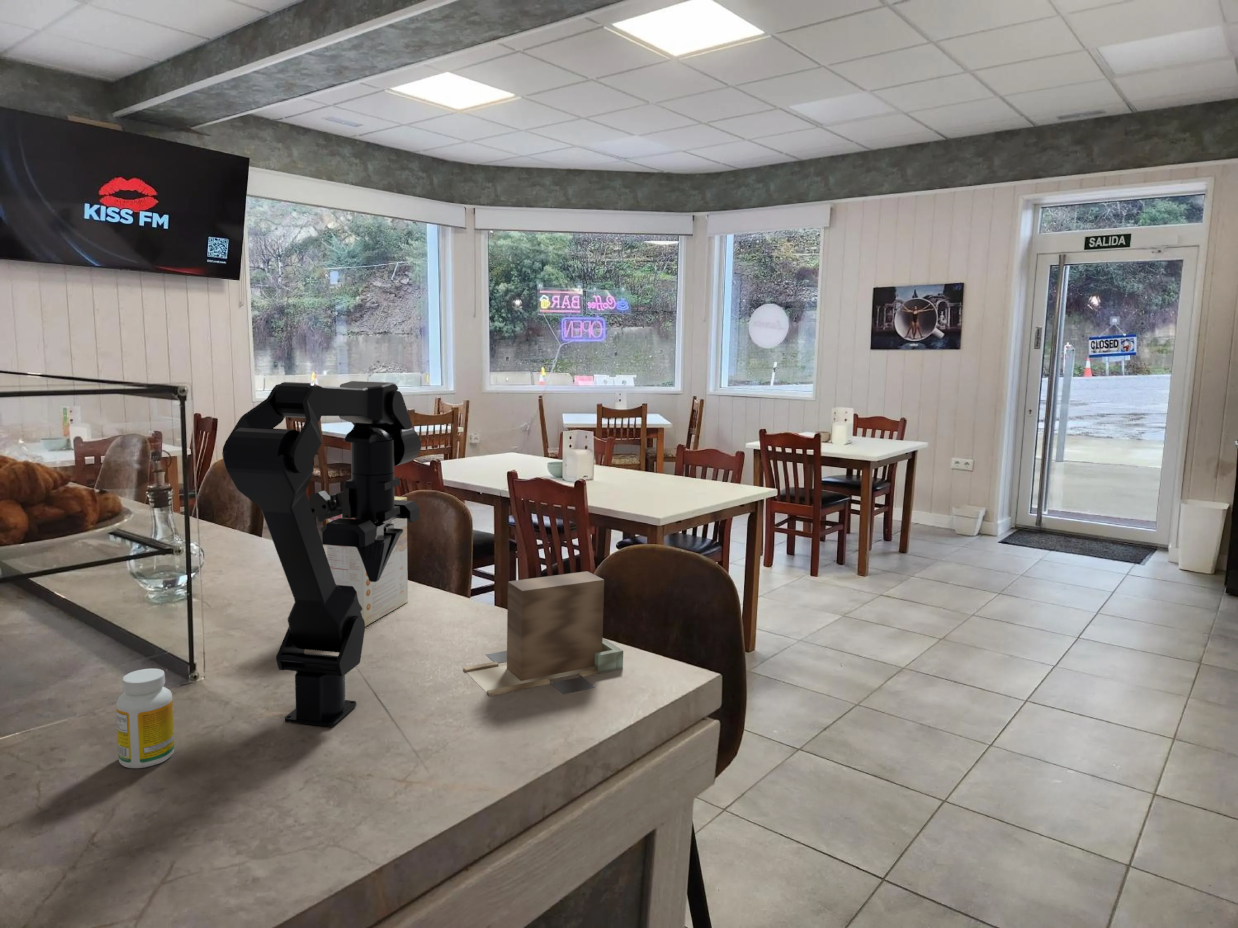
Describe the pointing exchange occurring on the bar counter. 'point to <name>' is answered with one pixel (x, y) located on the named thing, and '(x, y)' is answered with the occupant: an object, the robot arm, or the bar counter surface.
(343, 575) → the coffeecake box
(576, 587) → the walnut block
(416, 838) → the bar counter surface
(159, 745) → the supplement bottle
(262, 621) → the bar counter surface
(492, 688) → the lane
